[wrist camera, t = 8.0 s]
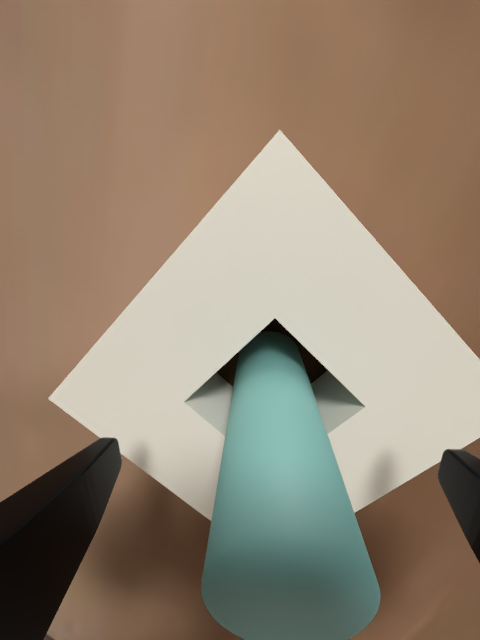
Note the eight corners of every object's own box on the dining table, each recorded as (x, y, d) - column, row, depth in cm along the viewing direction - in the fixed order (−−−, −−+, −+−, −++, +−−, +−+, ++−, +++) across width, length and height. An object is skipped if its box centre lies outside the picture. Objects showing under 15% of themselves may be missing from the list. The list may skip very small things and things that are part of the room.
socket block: (454, 363, 13) (524, 410, 9) (266, 494, 16) (268, 564, 12) (273, 161, 11) (279, 129, 7) (99, 358, 14) (48, 398, 10)
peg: (313, 361, 13) (418, 607, 4) (268, 398, 14) (284, 668, 5) (270, 318, 13) (294, 504, 4) (225, 359, 13) (166, 588, 5)
